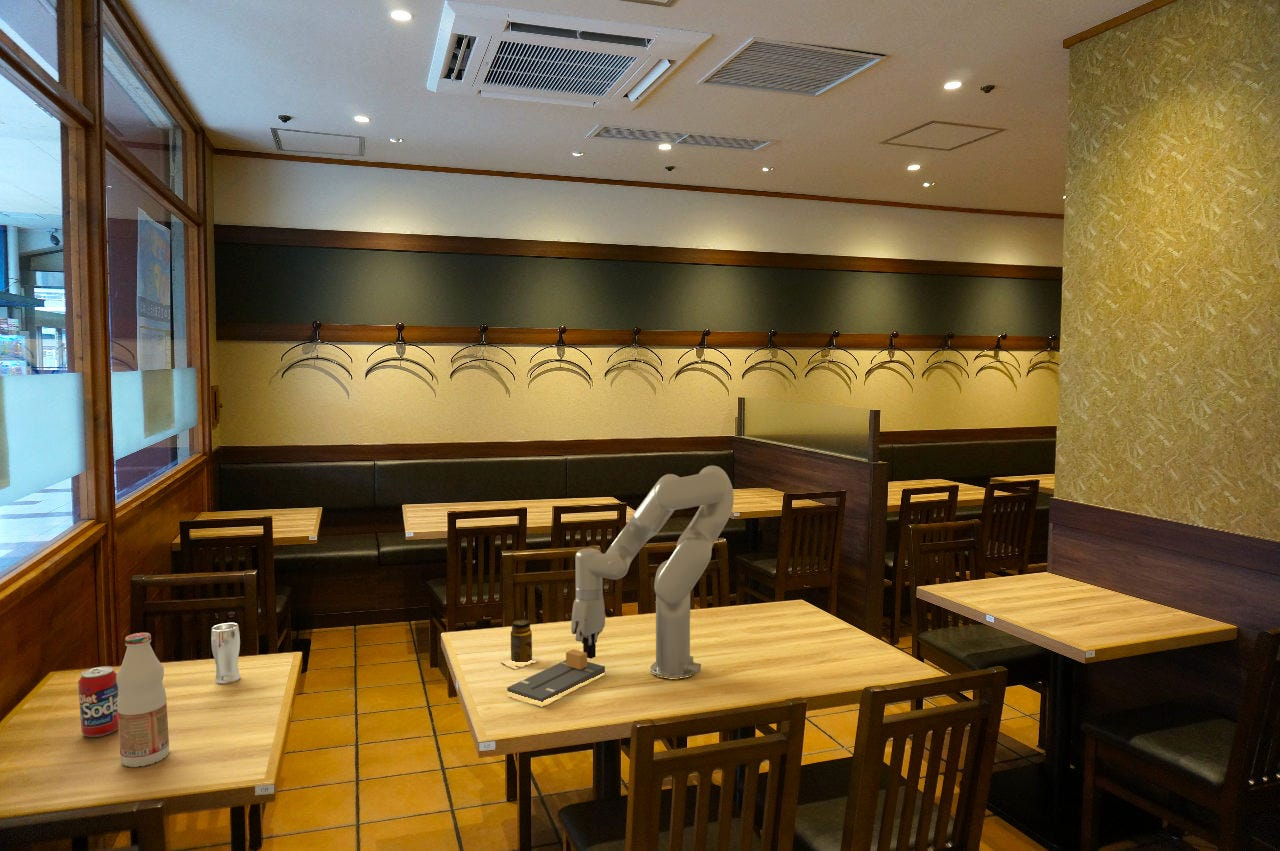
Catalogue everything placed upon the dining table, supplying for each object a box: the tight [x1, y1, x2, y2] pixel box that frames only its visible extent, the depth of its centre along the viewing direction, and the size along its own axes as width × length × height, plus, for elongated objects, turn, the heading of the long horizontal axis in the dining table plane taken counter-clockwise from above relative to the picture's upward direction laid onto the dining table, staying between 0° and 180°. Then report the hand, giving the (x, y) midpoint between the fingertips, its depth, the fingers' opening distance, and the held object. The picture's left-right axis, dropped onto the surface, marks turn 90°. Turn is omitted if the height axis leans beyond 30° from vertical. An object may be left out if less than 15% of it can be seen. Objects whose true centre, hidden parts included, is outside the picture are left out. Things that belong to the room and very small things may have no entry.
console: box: [506, 659, 606, 702], centre depth 227 cm, size 26×12×3 cm, turn 145°
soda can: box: [77, 665, 119, 738], centre depth 200 cm, size 8×8×15 cm
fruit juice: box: [116, 632, 170, 768], centre depth 186 cm, size 9×9×28 cm
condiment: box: [510, 619, 533, 662], centre depth 243 cm, size 7×8×12 cm
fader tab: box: [565, 648, 588, 669], centre depth 233 cm, size 3×5×4 cm, turn 55°
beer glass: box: [211, 622, 241, 685], centre depth 231 cm, size 7×7×15 cm
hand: (589, 656), depth 238 cm, fingers closed
